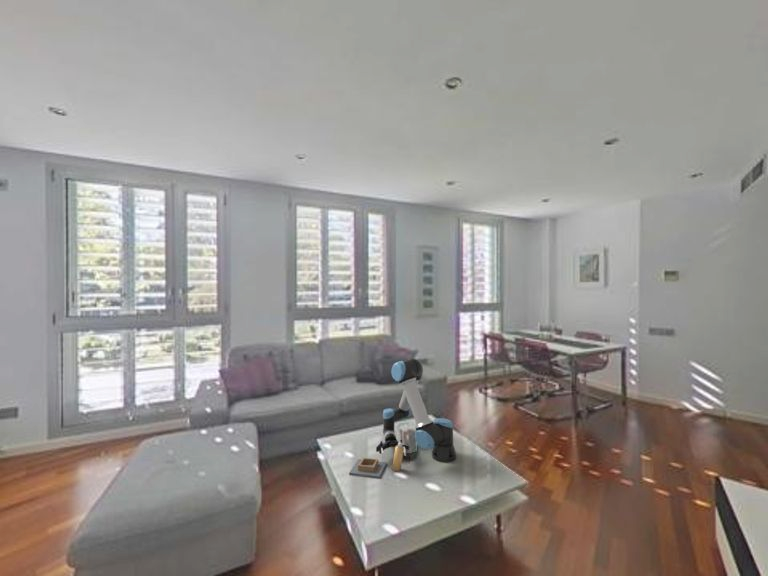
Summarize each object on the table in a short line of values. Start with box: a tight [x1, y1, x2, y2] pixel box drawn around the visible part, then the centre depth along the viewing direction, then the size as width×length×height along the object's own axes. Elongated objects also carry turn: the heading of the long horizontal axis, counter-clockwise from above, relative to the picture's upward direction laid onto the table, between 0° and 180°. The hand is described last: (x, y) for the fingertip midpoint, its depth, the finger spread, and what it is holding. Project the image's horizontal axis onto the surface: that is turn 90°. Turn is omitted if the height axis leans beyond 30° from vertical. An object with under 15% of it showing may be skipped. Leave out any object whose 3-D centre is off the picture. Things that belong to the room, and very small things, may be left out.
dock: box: [349, 457, 387, 479], centre depth 214 cm, size 18×16×4 cm
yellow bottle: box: [391, 442, 404, 472], centre depth 213 cm, size 5×5×16 cm
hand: (394, 454), depth 215 cm, fingers open, 13 cm apart
